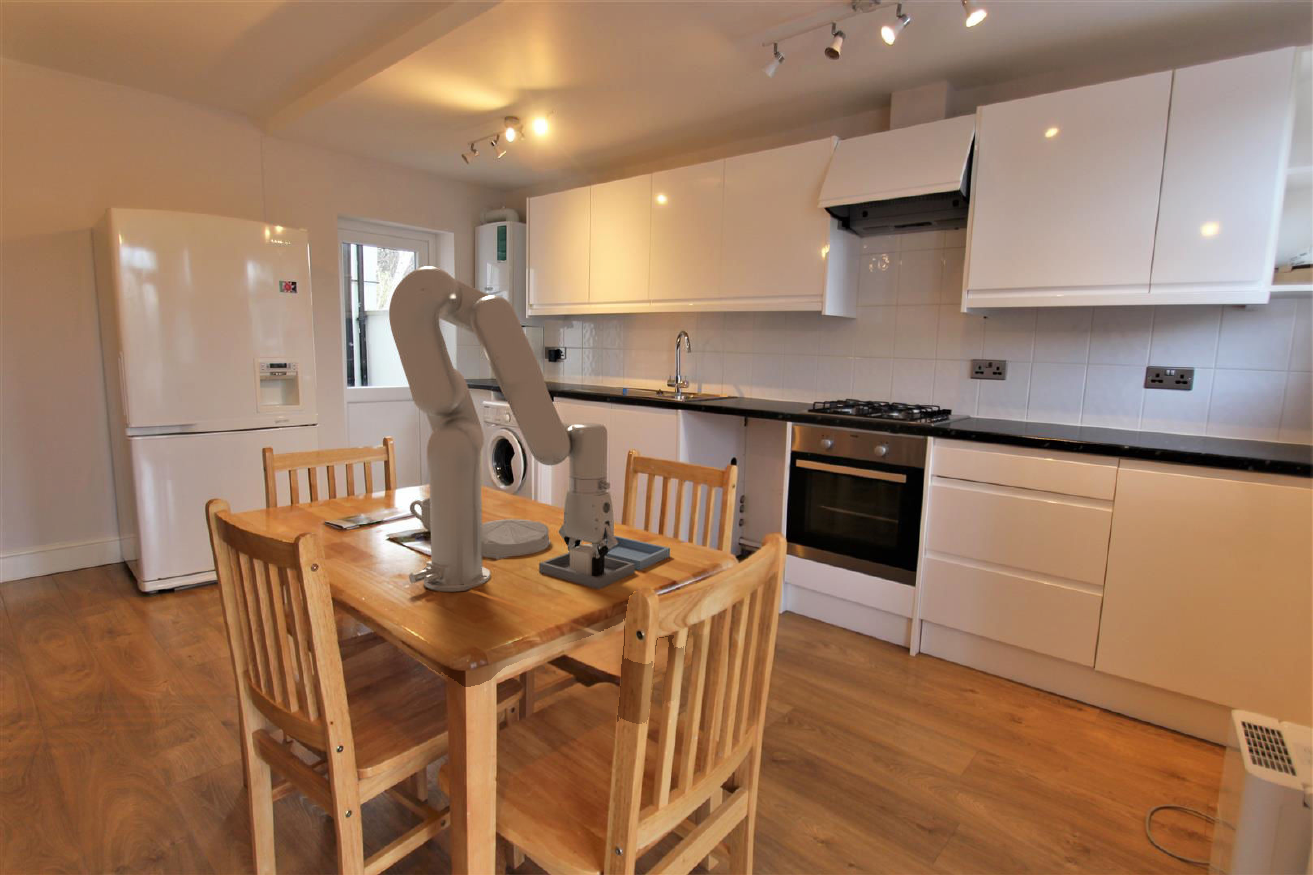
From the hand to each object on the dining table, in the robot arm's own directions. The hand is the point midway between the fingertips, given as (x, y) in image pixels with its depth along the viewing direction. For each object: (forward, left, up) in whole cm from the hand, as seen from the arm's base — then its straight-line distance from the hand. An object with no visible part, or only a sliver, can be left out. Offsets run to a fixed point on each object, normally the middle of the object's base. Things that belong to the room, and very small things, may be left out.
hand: (587, 571), depth 129 cm
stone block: (0, 0, 0) cm, 0 cm away
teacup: (+2, +50, -1) cm, 50 cm away
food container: (+4, +27, -1) cm, 27 cm away
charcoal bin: (0, 0, -1) cm, 1 cm away
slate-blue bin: (+13, 0, -1) cm, 14 cm away
